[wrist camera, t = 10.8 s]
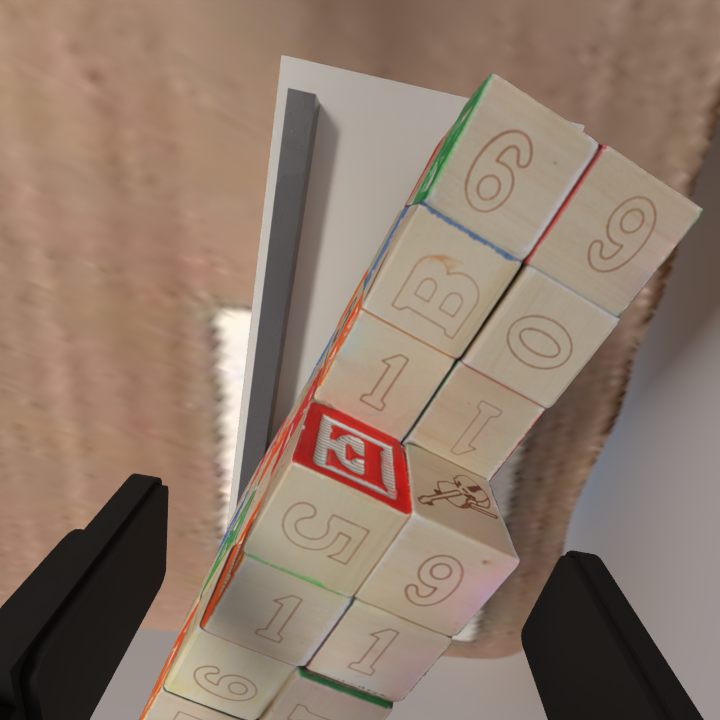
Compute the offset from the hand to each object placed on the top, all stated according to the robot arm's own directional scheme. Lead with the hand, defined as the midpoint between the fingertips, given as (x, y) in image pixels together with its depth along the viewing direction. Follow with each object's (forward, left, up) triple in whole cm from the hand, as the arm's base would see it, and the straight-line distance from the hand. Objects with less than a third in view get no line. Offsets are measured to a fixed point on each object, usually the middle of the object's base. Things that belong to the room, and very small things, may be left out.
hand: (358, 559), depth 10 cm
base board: (+1, 0, -15) cm, 15 cm away
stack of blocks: (0, +1, -13) cm, 13 cm away
